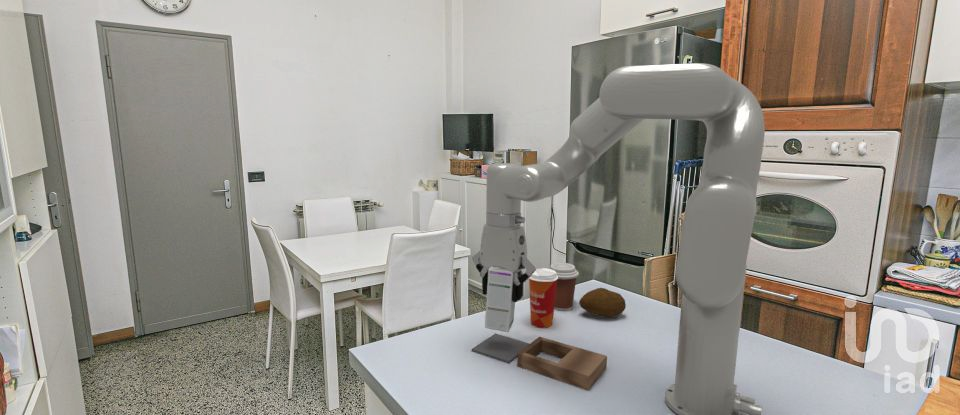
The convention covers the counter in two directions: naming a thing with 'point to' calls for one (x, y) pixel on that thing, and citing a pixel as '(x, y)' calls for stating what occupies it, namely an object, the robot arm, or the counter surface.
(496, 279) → the syrup box
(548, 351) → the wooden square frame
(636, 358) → the counter surface
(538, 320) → the paper cup
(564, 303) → the coffee cup
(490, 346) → the rubber mat
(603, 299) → the potato
